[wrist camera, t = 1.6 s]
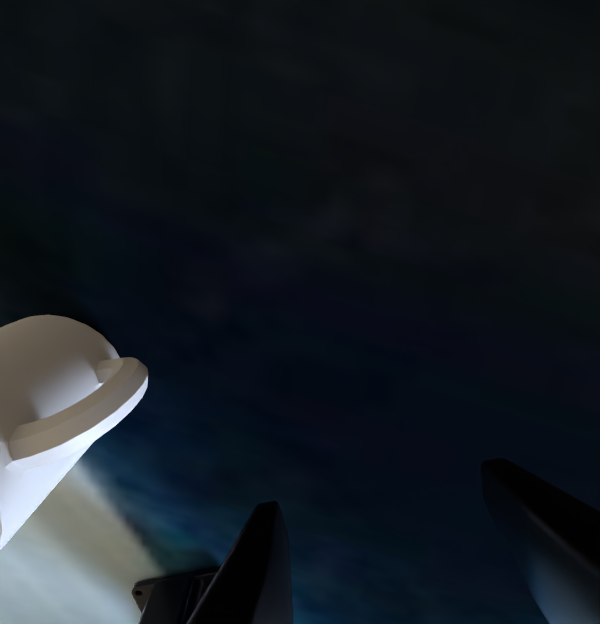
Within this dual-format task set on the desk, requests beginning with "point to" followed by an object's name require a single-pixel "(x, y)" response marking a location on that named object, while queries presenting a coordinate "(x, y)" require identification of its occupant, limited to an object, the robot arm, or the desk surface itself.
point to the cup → (55, 406)
